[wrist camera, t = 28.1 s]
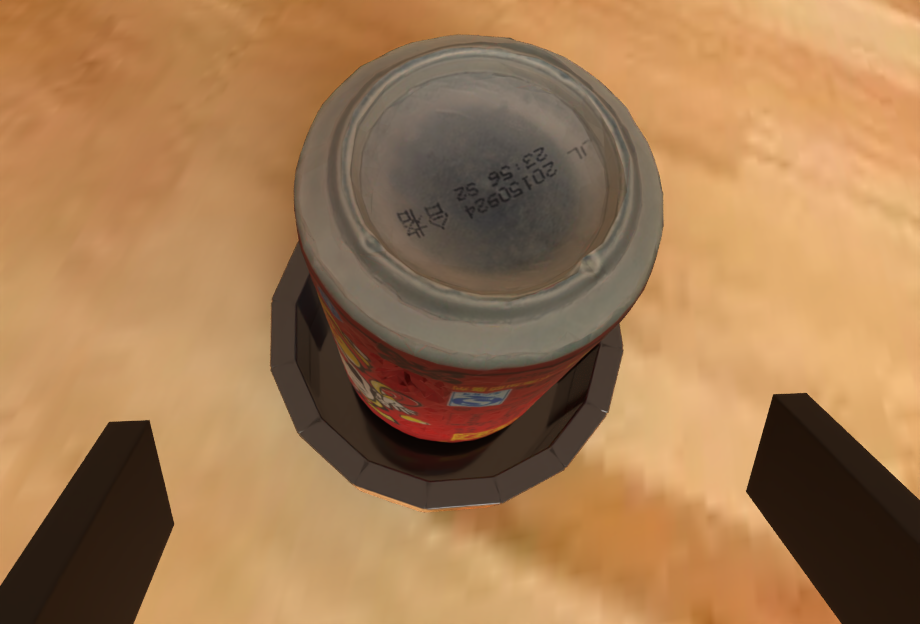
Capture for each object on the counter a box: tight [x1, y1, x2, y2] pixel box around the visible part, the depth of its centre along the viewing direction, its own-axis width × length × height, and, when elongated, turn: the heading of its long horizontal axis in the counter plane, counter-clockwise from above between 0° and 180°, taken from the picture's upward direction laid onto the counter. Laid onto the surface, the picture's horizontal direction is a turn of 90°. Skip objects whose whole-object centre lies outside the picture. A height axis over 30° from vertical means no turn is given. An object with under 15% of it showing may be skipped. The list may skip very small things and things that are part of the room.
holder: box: [270, 241, 623, 513], centre depth 22 cm, size 11×11×4 cm
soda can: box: [294, 35, 664, 443], centre depth 17 cm, size 7×7×12 cm
